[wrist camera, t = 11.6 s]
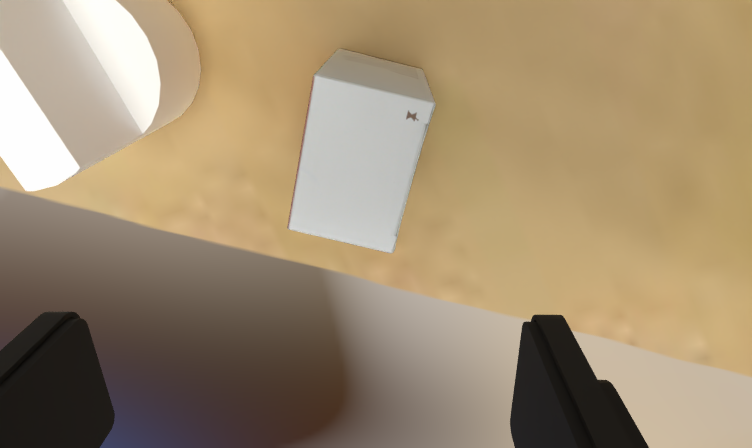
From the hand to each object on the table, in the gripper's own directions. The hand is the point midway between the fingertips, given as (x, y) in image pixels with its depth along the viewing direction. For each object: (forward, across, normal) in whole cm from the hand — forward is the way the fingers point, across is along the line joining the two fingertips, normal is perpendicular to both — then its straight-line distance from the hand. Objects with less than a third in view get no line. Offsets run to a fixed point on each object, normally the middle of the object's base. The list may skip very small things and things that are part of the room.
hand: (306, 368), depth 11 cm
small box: (+24, 0, 0) cm, 24 cm away
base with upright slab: (+24, +15, -4) cm, 29 cm away
